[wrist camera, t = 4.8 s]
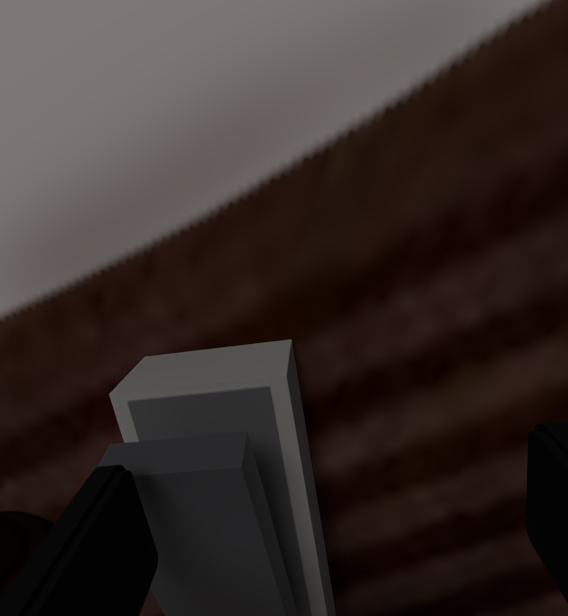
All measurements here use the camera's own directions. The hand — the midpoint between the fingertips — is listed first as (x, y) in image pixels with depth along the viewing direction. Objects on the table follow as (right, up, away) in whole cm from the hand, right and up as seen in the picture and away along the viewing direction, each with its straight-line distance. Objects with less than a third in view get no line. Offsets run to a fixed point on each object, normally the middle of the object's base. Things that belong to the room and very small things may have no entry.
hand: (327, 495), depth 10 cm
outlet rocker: (-3, -4, +3) cm, 6 cm away
